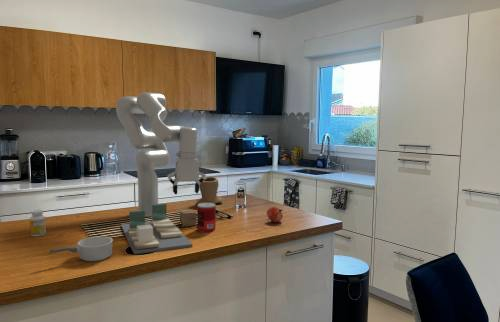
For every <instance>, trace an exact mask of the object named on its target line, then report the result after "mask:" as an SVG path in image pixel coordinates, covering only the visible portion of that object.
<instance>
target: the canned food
mask: <svg viewBox="0 0 500 322" xmlns="http://www.w3.org/2000/svg"><path fill="white" fill-rule="evenodd" d="M216 206H217V205H216V203H200V204H199V203H197V207H196V208H197V212H196V226H197V230H198V231H199V232H201V233H210V232H214V231H215V230H216V222H217V221H216V218H217V217H216V214H217V213H216V212H217V211H216V209H217V207H216Z"/></svg>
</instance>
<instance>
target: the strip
mask: <svg viewBox="0 0 500 322" xmlns="http://www.w3.org/2000/svg"><path fill="white" fill-rule="evenodd" d="M151 219H152V220H150V222H151V224H152V226H153V227H154V228H155V230H156V231H157V232H158V234H159V235H160V236H161V238H169V237H177V236H182V234H183V232H182V230H180V228H179V227H177V225H175V223H173V221H172V220H170V218H168V216H167V203H158V204H152V216H151Z"/></svg>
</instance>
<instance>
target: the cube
mask: <svg viewBox="0 0 500 322" xmlns="http://www.w3.org/2000/svg"><path fill="white" fill-rule="evenodd" d="M180 223H181V224H182V225H181V224H180ZM179 224H180V225H181V226H182V227H183V228H185V227H194V226H193V225H195V224H196V225H197V212H196V211H195V210H194V209H181V210H179ZM196 225H195V226H196ZM184 226H185V227H184Z"/></svg>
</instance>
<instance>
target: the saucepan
mask: <svg viewBox="0 0 500 322" xmlns="http://www.w3.org/2000/svg"><path fill="white" fill-rule="evenodd" d="M113 241H114V239H113V238H112V237H109V236H101V235H99V236H91V237H85V238H82V239H79V240H78V241H77V243H76V244H77V245H75V246H66V247H60V248H54V249H49V253H50V254H51V253H58V252H64V251H69V252H72V253H77V252H78V258H79V259H80V260H82V261H83V260H84V261H86V262H98V261H103V260H105V259H107V258H108V257H111V256H112V254H113Z"/></svg>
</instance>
